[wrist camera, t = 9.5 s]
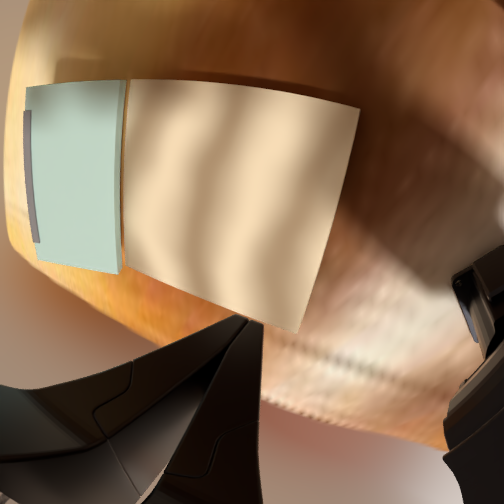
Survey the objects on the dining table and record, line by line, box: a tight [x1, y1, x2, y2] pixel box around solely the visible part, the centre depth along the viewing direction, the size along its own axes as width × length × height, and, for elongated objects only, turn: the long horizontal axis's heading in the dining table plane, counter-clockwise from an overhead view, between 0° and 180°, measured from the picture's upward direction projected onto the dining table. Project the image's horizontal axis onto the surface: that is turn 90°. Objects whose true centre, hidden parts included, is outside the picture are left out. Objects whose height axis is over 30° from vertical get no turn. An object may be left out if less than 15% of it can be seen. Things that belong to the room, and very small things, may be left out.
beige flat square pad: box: [124, 79, 361, 334], centre depth 21 cm, size 16×16×2 cm
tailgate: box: [23, 80, 127, 275], centre depth 22 cm, size 2×16×9 cm
